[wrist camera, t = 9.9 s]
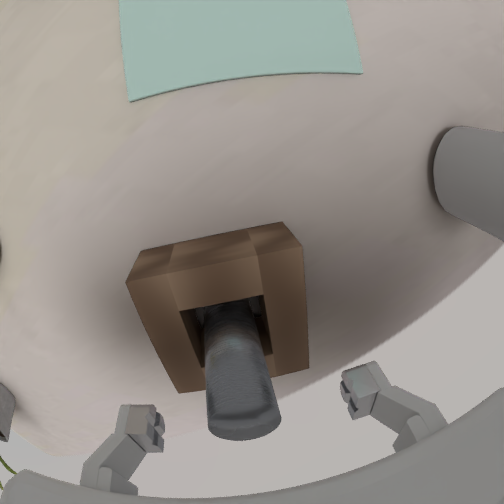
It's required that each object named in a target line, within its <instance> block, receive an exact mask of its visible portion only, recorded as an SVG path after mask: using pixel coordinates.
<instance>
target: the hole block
mask: <svg viewBox="0 0 504 504" xmlns="http://www.w3.org/2000/svg"><path fill="white" fill-rule="evenodd" d="M126 285H127V287H128V290H129V292H130V295H131V297H132V300H133V302H134V304H135V307H136V309H137V311H138V314H139V316H140V318H141V320H142V323H143V325H144V327H145V329H146V331H147V334H148V336H149V338H150V340H151V342H152V344H153V346H154V348H155V350H156V352H157V354H158V356H159V358H160V360H161V362H162V364H163V366H164V368H165V370H166V372H167V373H168V375H169V377H170V379H171V381H172V383H173V384H174V386H175V388H176V390H177V391H178V393H187V392H195V391H202V390H206V378H205V346H204V328H201V327H200V324H199V321H198V318H197V315H196V312H195V309H194V308H198V307H204V306H209V305H214V304H219V303H224V302H229V301H234V300H239V299H244V298H249V297H253V296H258V298H259V303H260V309H261V315H262V316H261V317H257V318H254V319H255V322H256V326H257V330H258V334H259V338H260V341H261V345H262V349H263V353H264V356H265V360H266V364H267V367H268V371H269V375H270V378H272V377H277V376H281V375H285V374H289V373H293V372H297V371H301V370H304V369H308V368H309V347H308V324H307V305H306V289H305V275H304V262H303V250H302V245H301V244H300V243H299V242H298V240H297V239H296V238H295V237H294V235H293V234H292V233H291V232H290V230H289V229H288V228H287V227H286V226H285V224H284V223H283V222H278V223H273V224H268V225H262V226H257V227H252V228H247V229H242V230H237V231H232V232H227V233H222V234H217V235H212V236H208V237H203V238H198V239H193V240H189V241H184V242H179V243H175V244H170V245H165V246H161V247H156V248H152V249H147V250H143V251H141V252H140V254H139V256H138V258H137V260H136V262H135V264H134V266H133V268H132V270H131V272H130V274H129V276H128V278H127V280H126Z"/></svg>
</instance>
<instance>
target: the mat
mask: <svg viewBox="0 0 504 504" xmlns="http://www.w3.org/2000/svg"><path fill="white" fill-rule="evenodd" d="M119 15H120V30H121V42H122V53H123V62H124V70H125V78H126V86H127V92H128V99H129V102H134V101H137V100H140V99H144V98H147V97H151V96H154V95H158V94H162V93H166V92H170V91H174V90H178V89H183V88H187V87H192V86H197V85H202V84H208V83H213V82H219V81H226V80H232V79H240V78H248V77H257V76H268V75H281V74H301V73H342V74H363V69H362V64H361V59H360V54H359V50H358V45H357V41H356V36H355V32H354V28H353V24H352V20H351V17H350V13H349V9H348V6H347V3H346V0H119Z"/></svg>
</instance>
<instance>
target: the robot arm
mask: <svg viewBox="0 0 504 504" xmlns="http://www.w3.org/2000/svg"><path fill="white" fill-rule="evenodd" d="M341 376H342V379H343V381H341V383H340V390H341V394H342V397H343V400H344V401H345V402H346V403H348V411H349V413H350V415H351V418H352V420H355V419H358V418H361V417H364V416H367V415H371V416H372V417H374V418H375V419H377V420H378V421H380V422H381V423H383V424H384V425H386V426H387V427H389V428H390V429H392V430H393V431H395V432H396V433H398V434H399V436H398V437H397V439H396V440H395V442H394V444H393V447H394V449H395V451H396V453H394V454H392V455H390V456H388V457H386V458H383V459H381V460H378V461H376V462H373V463H371V464H368V465H366V466H363V467H360V468H358V469H355V470H352V471H349V472H346V473H343V474H340V475H337V476H333V477H330V478H327V479H324V480H320V481H316V482H312V483H308V484H304V485H300V486H296V487H291V488H286V489H281V490H276V491H270V492H264V493H257V494H250V495H241V496H232V497H217V498H159V497H146V496H138V488H137V486H135V485H134V484H132V483H131V482H129V481H128V480H129V479H130V477H131V476H132V474H133V473H134V471H135V470H136V468H137V467H138V466H139V464H140V463H141V461H142V460H143V458H144V457H145V455H146V453H148V452H149V453H150V452H152V453H153V452H163V448H164V439H163V438H162V437H161V436H162V435H163V434H164V432H165V424H164V419H163V417H162V415H161V414H160V413H158V412H156V407H155V406H154V405H153V404H149V405H121V407H120V409H119V414H118V418H117V423H116V428H115V433H114V434H111V435H110V436H109V437H108V438H107V439H106V440H105V441H104V442H103V443H102V445H101V446H100V447H99V448H98V449H97V450H96V451H95V452H94V453H93V454H92V455H91V456H90V457H89V458H88V459H87V460H86V461H85V462H84V464H83V470H82V475H81V480H80V486H79V485H75V484H71V483H68V482H64V481H60V480H57V479H54V478H51V477H47V476H44V475H41V474H39V473H36V472H33V471H30V470H27V469H24V470H22V471H20V472H19V473H17V474H16V475H15V476H14V477H12V478H11V479H10V480H9V481H8V482H7V483H6V485H5V487H4V489H3V492H2V495H1V499H0V504H504V388H500V389H498V390H497V391H495V392H494V393H493V394H492V395H490V396H489V397H488V398H486V399H485V400H484V401H482V402H481V403H480V404H478V405H477V406H476V407H474V408H473V409H471V410H470V411H468V412H467V413H466V414H464V415H463V416H461V417H460V418H458V419H456V420H455V421H453V422H452V423H450V424H449V425H448V423H447V422H446V420H445V418H444V417H443V415H442V414H441V412H440V411H439V409H438V408H437V406H436V405H435V404H434V403H431V402H429V401H427V400H425V399H422V398H420V397H418V396H416V395H413V394H412V393H409V392H407V391H405V390H403V389H401V388H399V387H397V386H391V384H390V383H389V382H388V380H387V378H386V376H385V375H384V373H383V372H382V370H381V368H380V367H379V365H378V364H377V362H375V361H372V362H369V363H366V364H362V365H360V366H357V367H354V368H351V369H348V370H345V371H343V372H342V375H341Z"/></svg>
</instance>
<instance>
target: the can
mask: <svg viewBox="0 0 504 504" xmlns="http://www.w3.org/2000/svg"><path fill="white" fill-rule="evenodd" d="M433 176H434V184H435V190H436V193H437V196H438V200H439V202H440V204H441V205H442V207H443V208H444V210H445V211H446V212H448V213H450V214H451V215H453V216H455V217H457V218H459V219H462V220H464V221H466V222H468V223H470V224H472V225H474V226H476V227H478V228H480V229H481V230H483V231H485V232H487V233H489V234H491V235H493V236H495V237H496V238H498V239H500V240H502V241H504V132H498V131H492V130H486V129H479V128H472V127H464V126H459V127H454V128H452V129H451V130H449V131H448V132H447V133H446V134H445V135H444V137H443V139H442V140H441V142H440V144H439V146H438V149H437V151H436V155H435V158H434V166H433Z"/></svg>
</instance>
